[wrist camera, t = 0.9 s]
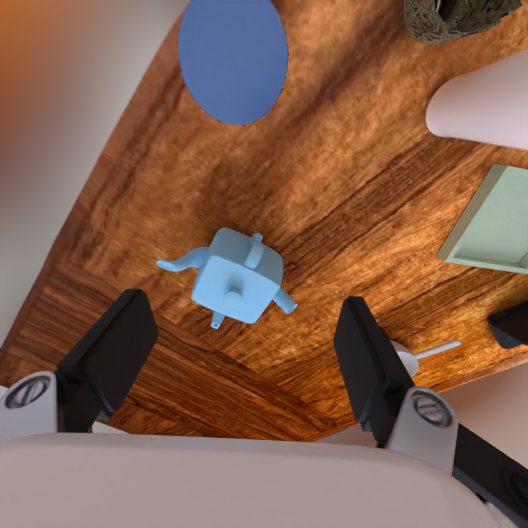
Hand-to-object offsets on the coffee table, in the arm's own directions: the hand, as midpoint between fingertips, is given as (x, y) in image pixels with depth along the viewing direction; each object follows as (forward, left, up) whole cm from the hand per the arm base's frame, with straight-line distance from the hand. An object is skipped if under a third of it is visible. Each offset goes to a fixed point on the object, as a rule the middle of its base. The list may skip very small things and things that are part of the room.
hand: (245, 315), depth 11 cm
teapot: (+10, -2, -22) cm, 24 cm away
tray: (-2, +33, -22) cm, 40 cm away
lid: (-11, -3, -11) cm, 16 cm away
